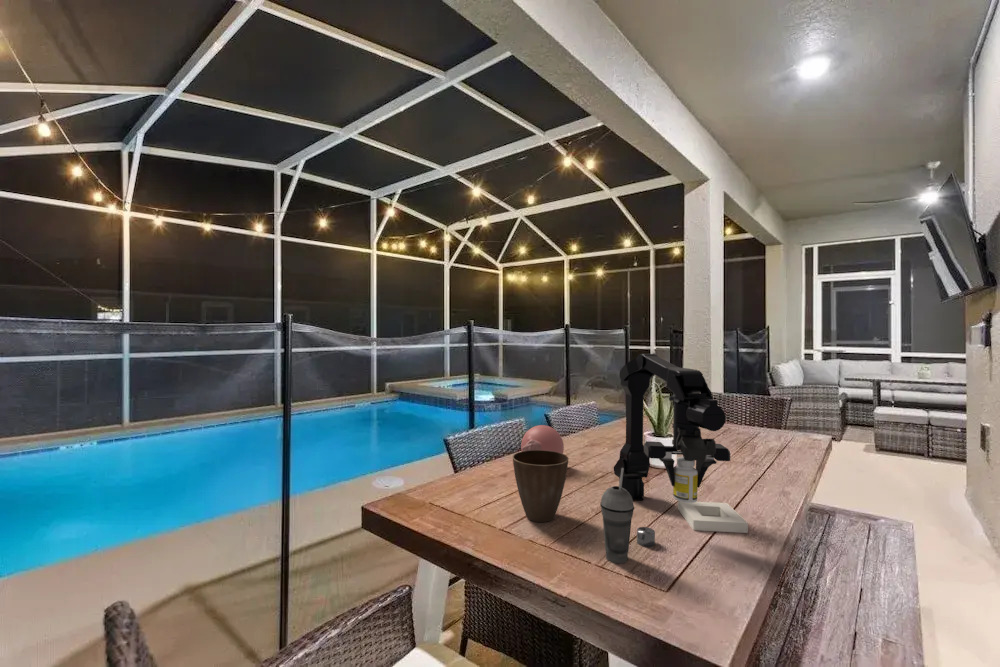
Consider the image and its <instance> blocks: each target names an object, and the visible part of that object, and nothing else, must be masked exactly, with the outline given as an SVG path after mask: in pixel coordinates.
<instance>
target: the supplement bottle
mask: <svg viewBox="0 0 1000 667" xmlns="http://www.w3.org/2000/svg"><path fill="white" fill-rule="evenodd" d="M674 477H675V485H674V486H672V488H673V490H672V495H673V499H675V500H676V501H677V502H678V501H680V502H685V503H693V502H698V487H697V482H698V472H697V470H696V460H692V461H687V460H685V459H684V457H683V456H678V457H676V466H675V467H674Z"/></svg>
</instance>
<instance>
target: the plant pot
mask: <svg viewBox="0 0 1000 667" xmlns="http://www.w3.org/2000/svg"><path fill="white" fill-rule="evenodd" d="M512 462H513V465H512V466H513V469H514V470H513V472H514V478H515V482H516V487H517V491H518V494H519V499H520V502H521V504H522V508H523V511H524V513H525V516H526V518H527V519H528V520H530V521H532V522H536V523H547V522H551V521H553V520H554V519H555V516H556V514H557V511H558V508H559V506H560V502H561V499H562V495H563V491H564V487H565V483H566V478H567V473H568V466H569V456H568V455H566V454H564V453H563V454H562V453H559V452H554V451H546V450H529V451H518V452H516V453H513V455H512Z"/></svg>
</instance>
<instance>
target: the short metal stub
mask: <svg viewBox="0 0 1000 667" xmlns="http://www.w3.org/2000/svg"><path fill="white" fill-rule="evenodd" d="M655 539H656V530H654V529H653V528H651V527H646V526H639V527H637V529H636V544H638V545H639V546H640V547H644V548H653V547H655V544H656V542H655V541H656V540H655Z"/></svg>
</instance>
